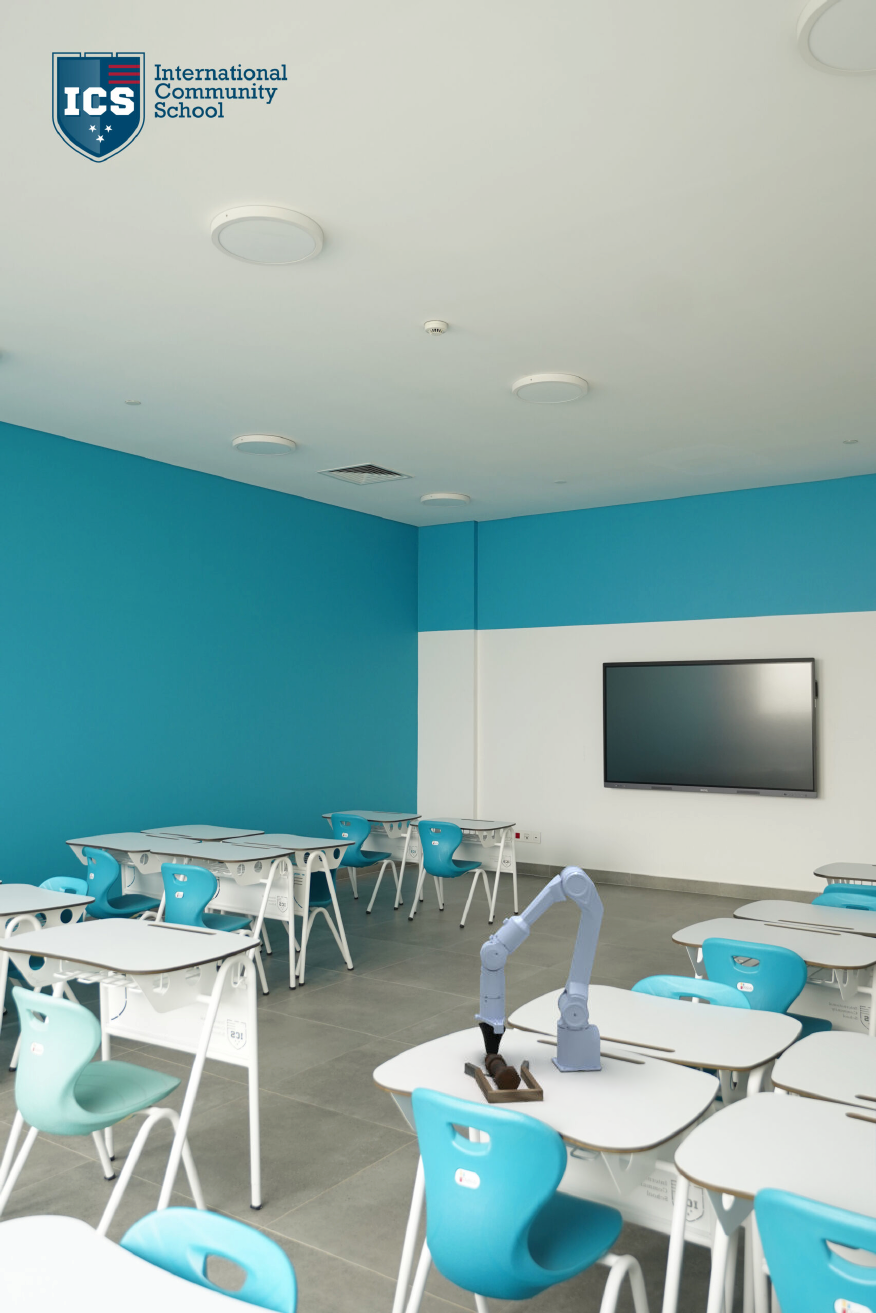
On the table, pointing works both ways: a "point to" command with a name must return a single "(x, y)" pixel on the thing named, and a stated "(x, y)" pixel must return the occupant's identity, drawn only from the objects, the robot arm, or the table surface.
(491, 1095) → the frame
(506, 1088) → the bolt
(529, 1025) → the table surface
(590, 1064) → the robot arm
